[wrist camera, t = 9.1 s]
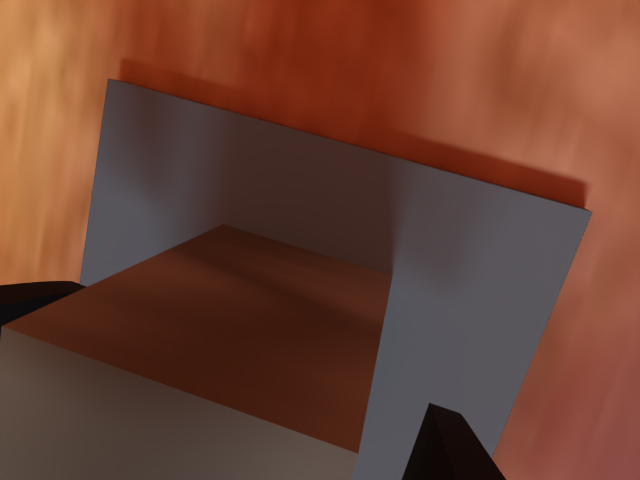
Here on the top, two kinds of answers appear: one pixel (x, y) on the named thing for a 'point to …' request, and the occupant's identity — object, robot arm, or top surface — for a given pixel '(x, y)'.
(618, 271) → the top surface
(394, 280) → the rubber mat
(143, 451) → the walnut block
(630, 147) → the top surface
